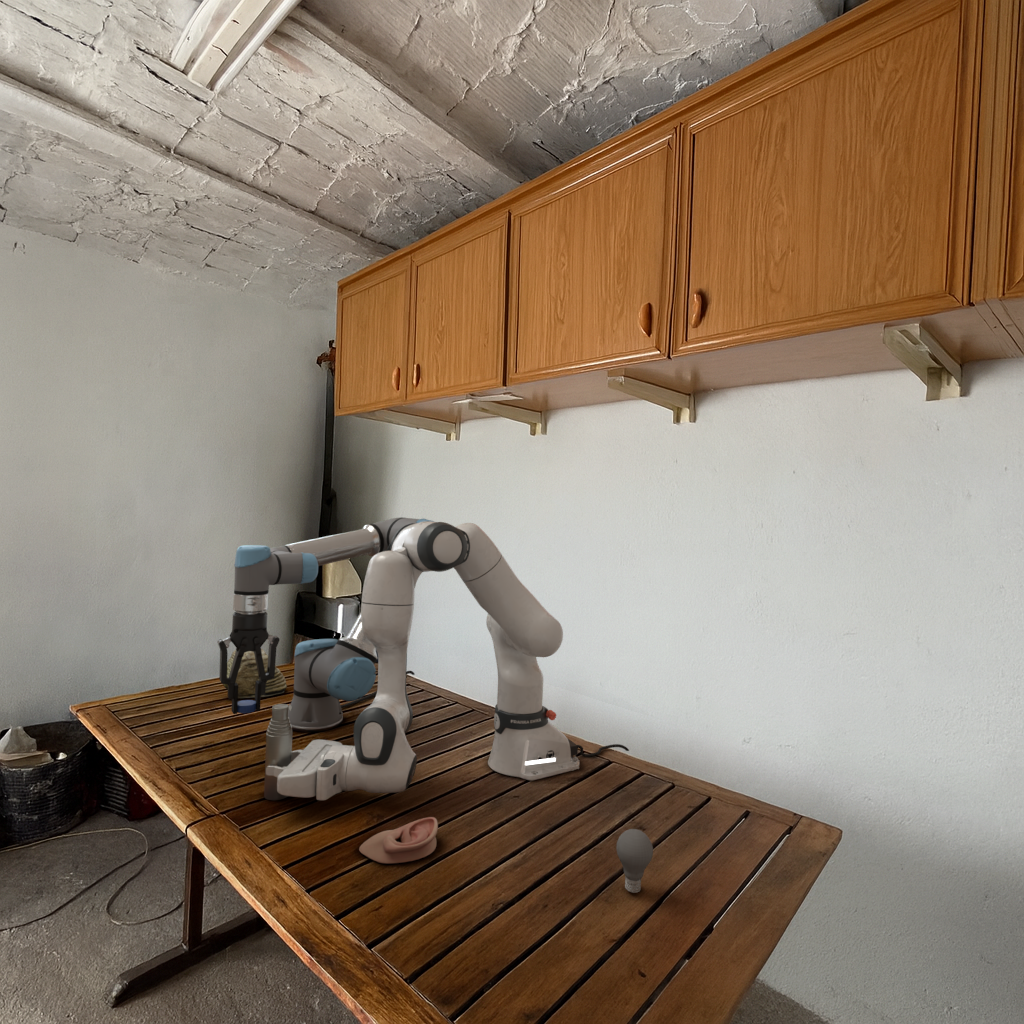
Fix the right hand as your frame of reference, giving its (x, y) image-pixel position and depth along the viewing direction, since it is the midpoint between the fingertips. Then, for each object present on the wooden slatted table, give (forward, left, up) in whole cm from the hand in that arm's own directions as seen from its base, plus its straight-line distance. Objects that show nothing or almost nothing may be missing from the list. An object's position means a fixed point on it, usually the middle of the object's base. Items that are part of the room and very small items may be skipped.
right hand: (274, 762), depth 134 cm
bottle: (-1, 0, -7) cm, 7 cm away
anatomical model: (-21, +28, -7) cm, 36 cm away
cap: (+6, -18, +7) cm, 21 cm away
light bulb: (-55, +53, -7) cm, 76 cm away
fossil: (+4, -71, -7) cm, 71 cm away
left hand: (+6, -18, +6) cm, 20 cm away
